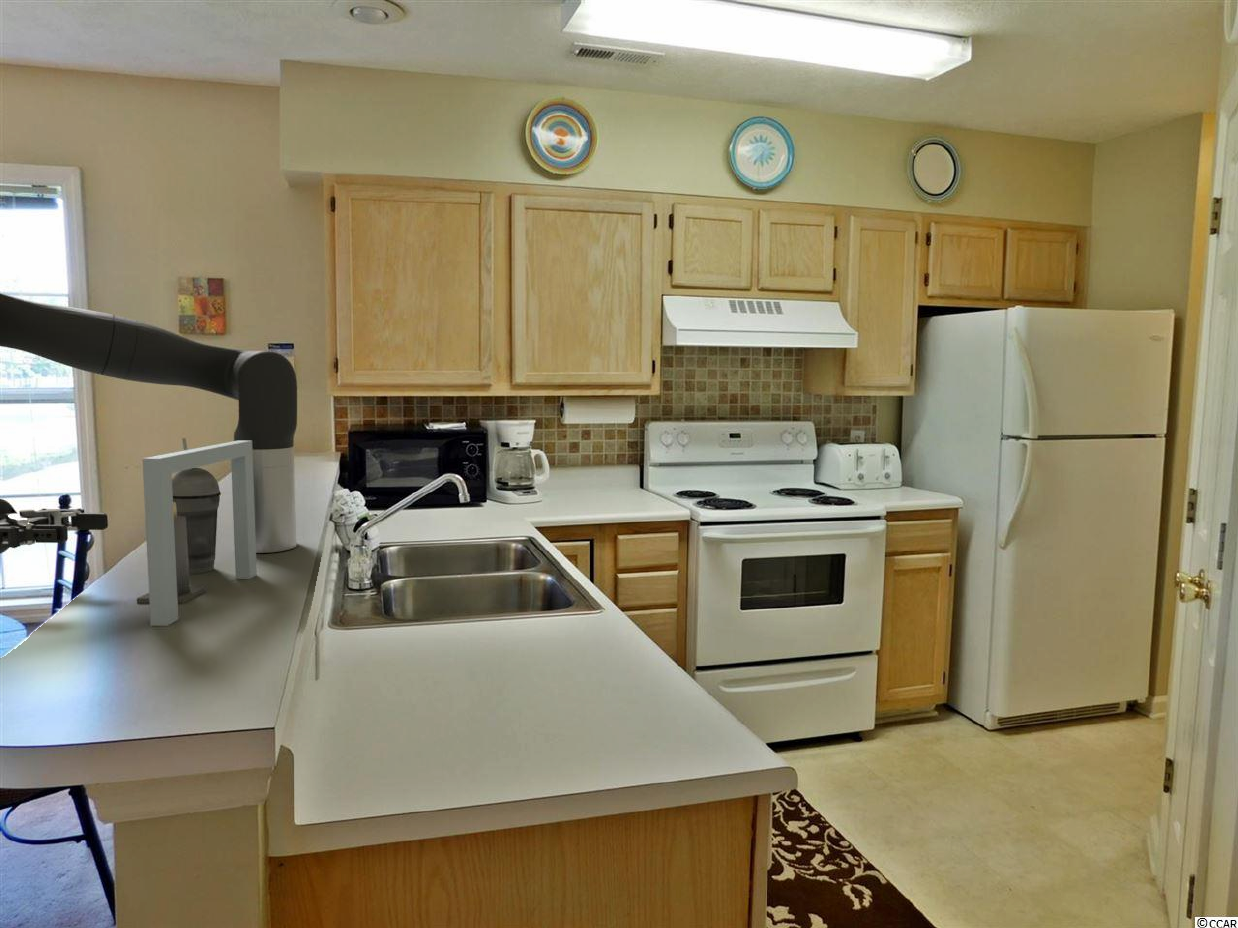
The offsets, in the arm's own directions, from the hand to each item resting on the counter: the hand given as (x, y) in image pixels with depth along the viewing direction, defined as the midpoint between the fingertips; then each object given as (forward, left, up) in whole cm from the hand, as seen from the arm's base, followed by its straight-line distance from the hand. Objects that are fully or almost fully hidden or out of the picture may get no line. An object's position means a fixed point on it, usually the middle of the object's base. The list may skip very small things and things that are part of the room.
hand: (86, 527), depth 113 cm
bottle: (0, +11, -9) cm, 14 cm away
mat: (0, +11, -9) cm, 14 cm away
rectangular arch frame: (0, +16, -9) cm, 18 cm away
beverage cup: (-15, +7, -10) cm, 19 cm away
